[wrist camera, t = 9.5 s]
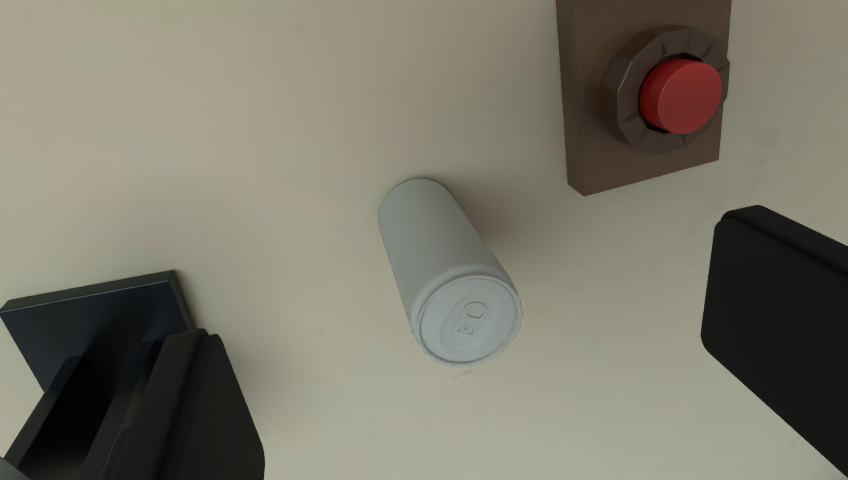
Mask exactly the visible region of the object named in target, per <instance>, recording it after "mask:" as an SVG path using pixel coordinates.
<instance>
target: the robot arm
mask: <svg viewBox="0 0 848 480" xmlns="http://www.w3.org/2000/svg"><path fill="white" fill-rule="evenodd" d="M701 340H702V343H703V345H704V347H705V349H706V350H707V351H708V352H709V353H710V354H711V355H712V356H713V357H714V358H715V359H716V360H718V361H719V362H720V363H721V364H722V365H723V366H724V367H725V368H726V369H727V370H729V371H730V372H731V373H732V374H733V375H734V376H735V377H736V378H737V379H739V380H740V381H741V382H742V383H743V384H744V385H745V386H746V387H747V388H749V389H750V390H751V391H752V392H753V393H754V394H755V395H756V396H757V397H759V398H760V399H761V400H762V401H763V402H764V403H765V404H766V405H767V406H769V407H770V408H771V409H772V410H773V411H774V412H775V413H776V414H777V415H779V416H780V417H781V418H782V419H783V420H784V421H785V422H786V423H787V424H789V425H790V426H791V427H792V428H793V429H794V430H795V431H796V432H797V433H798V434H800V435H801V436H802V437H803V438H804V439H805V440H806V441H807V442H808V443H810V444H811V445H812V446H813V447H814V448H815V449H816V450H817V451H818V452H820V453H821V454H822V455H823V456H824V457H825V458H826V459H827V460H828V461H830V462H831V463H832V464H833V465H834V466H835V467H836V468H837V469H838V470H840V471H841V472H842V473H843V474H844V475H845V476H846V477H847V478H848V246H846V245H844V244H842V243H840V242H837V241H835V240H833V239H831V238H829V237H827V236H825V235H823V234H821V233H818V232H816V231H814V230H812V229H810V228H808V227H806V226H804V225H802V224H799V223H797V222H795V221H793V220H791V219H789V218H787V217H785V216H783V215H780V214H778V213H776V212H774V211H772V210H770V209H768V208H766V207H763V206H760V205H754V206H749V207H745V208H740V209H736V210H731V211H728V212H726V213H725V214H724V215H723V216H722V218H721V221H719V222H718V223H717V224H716V226H715V229H714V237H713V244H712V252H711V259H710V267H709V274H708V282H707V289H706V297H705V304H704V312H703V320H702V327H701ZM264 470H265V457H264V450H263V446H262V443H261V440H260V438H259V435H258V433H257V430H256V428H255V425H254V422H253V420H252V417H251V415H250V412H249V409H248V407H247V404H246V402H245V399H244V396H243V394H242V391H241V389H240V386H239V384H238V381H237V378H236V376H235V373H234V371H233V368H232V365H231V363H230V360H229V358H228V355H227V353H226V350H225V347H224V345H223V342H222V340H221V338H220V336H219V335H218V334H213V335H209V334H208V333H207V331H206V330H205V329H203V328H201V329H197V330H192V331H188V332H183V333H179V334H174V335H170V336H168V337H167V338H166V339H165V341H164V343H163V346H162V348H161V351H160V353H159V356H158V358H157V361H156V363H155V366H154V368H153V371H152V373H151V376H150V378H149V381H148V383H147V386H146V388H145V391H144V393H143V396H142V398H141V400H140V403H139V405H138V408H137V410H136V413H135V415H134V418H133V420H132V423H131V425H130V426H127V427H126V428H124V429H123V430H122V431H121V433H120V434H119V436H118V438H117V440H116V442H115V445H114V447H113V450H112V452H111V454H110V457H109V459H108V461H107V464H106V466H105V468H104V471H103V473H102V476H101V478H100V480H264Z"/></svg>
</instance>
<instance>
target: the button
mask: <svg viewBox="0 0 848 480" xmlns="http://www.w3.org/2000/svg"><path fill="white" fill-rule="evenodd" d="M721 94H722V82H721V78H720V76H719V74H718V72H717V71H716V70H715V69H714V68H713V67H712V66H711V65H709V64H706V63H703V62H698V61H693V60H687V59H682V58H674V59H670V60H667V61H665V62H663V63H661V64H659V65H658V66H657V67H655V68H654V69H653V70H652V71H651V72H650V74H649V75H648V76H647V78H646V79H645V81H644V83H643V85H642V88H641V91H640V96H639V105H640V110H641V113H642V115H643V117H644V118H645V119H646V120H647V121H648V122H649V123H651V124H652V125H655V126H657V127H660V128H662V129H665V130H667V131H670V132H672V133H676V134H685V133H690V132H693V131H695V130H697V129H698V128H700V127H701V126H703V125H704V124H705V123H706V122H707V121H708V120H709V119H710V118H711V117H712V115H713V114H714V113H715V111H716V109H717V107H718V105H719V102H720V99H721Z"/></svg>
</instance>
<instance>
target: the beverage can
mask: <svg viewBox="0 0 848 480" xmlns="http://www.w3.org/2000/svg"><path fill="white" fill-rule="evenodd" d="M378 224H379V228H380V232H381V235H382V238H383V241H384V244H385V248H386V251H387V254H388V257H389V260H390V264H391V267H392V270H393V273H394V276H395V280H396V283H397V286H398V289H399V292H400V295H401V299H402V302H403V305H404V308H405V311H406V315H407V318H408V321H409V324H410V327H411V331H412V334H413V336H414V337H415V339H416V340H417V342H418V343H419V345H420V346H421V347H422V349H423V351H424V352H425V354H427V355H428V356H429V357H430V358H432V359H433V360H434V361H436V362H438V363H441V364H443V365H446V366H452V367H469V366H474V365H478V364H481V363H484V362H486V361H488V360H490V359H492V358H494V357H496V356H497V355H498V354H500V353H501V352H502V351H503V350H504V349H506V348H507V347H508V345H509V344H510V343H511V342H512V340H513V339H514V338H515V336H516V334H517V332H518V330H519V327H520V324H521V318H522V308H521V302H520V300H519V298H518V293H517V290H516V288H515V286H514V284H513V282H512V280H511V279H510V277H509V276H508V274H507V273H506V272H505V270H504V269H503V267H502V266H501V265H500V263H499V262H498V260H497V259H496V257H495V256H494V255H493V253H492V252H491V250H490V249H489V248H488V246H487V245H486V243H485V242H484V241H483V239H482V238H481V236H480V235H479V234H478V232H477V231H476V229H475V228H474V226H473V225H472V224H471V222H470V221H469V219H468V218H467V217H466V215H465V214H464V212H463V211H462V209H461V208H460V207H459V205H458V204H457V202H456V201H455V200H454V198H453V197H452V195H451V194H450V193H449V191H448V190H447V189H446V188H445V187H444V186H443V185H441V184H439V183H438V182H436V181H433V180H429V179H413V180H409V181H406V182H404V183H402V184H400V185H398V186H397V187H395V188H394V189H393V190H392V191H390V192H389V193H388V194H387V195H386V197H385V198H384V199H383V201H382V202H381V205H380V208H379V211H378Z"/></svg>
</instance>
